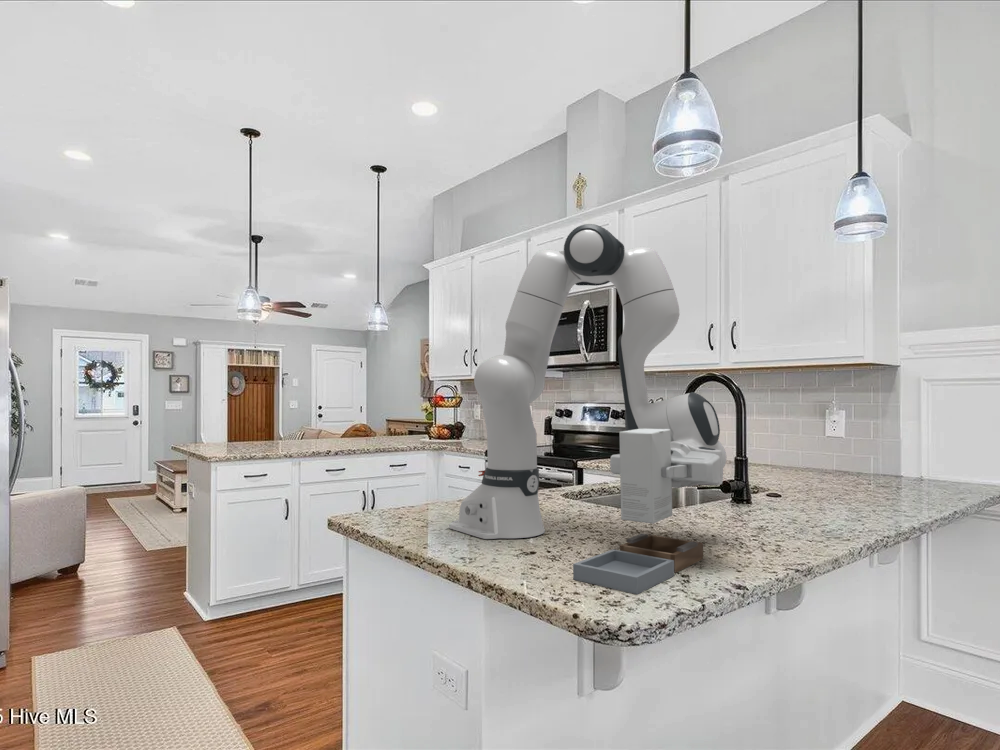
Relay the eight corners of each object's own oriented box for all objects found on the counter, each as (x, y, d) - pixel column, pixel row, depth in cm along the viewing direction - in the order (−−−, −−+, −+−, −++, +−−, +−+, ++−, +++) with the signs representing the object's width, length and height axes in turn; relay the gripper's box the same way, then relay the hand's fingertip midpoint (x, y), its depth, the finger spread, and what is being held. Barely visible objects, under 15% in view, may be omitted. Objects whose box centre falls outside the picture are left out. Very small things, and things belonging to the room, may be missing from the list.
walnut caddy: (618, 561, 108) (618, 541, 108) (649, 549, 117) (649, 531, 117) (676, 573, 101) (675, 551, 101) (704, 559, 110) (703, 539, 110)
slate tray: (573, 579, 98) (573, 563, 98) (613, 563, 107) (613, 549, 108) (637, 594, 90) (636, 577, 90) (674, 575, 100) (674, 560, 100)
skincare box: (641, 512, 111) (639, 428, 112) (675, 516, 107) (673, 428, 107) (619, 520, 104) (616, 430, 105) (654, 524, 100) (651, 431, 101)
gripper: (629, 444, 123) (593, 449, 112) (730, 450, 109) (699, 456, 99) (630, 475, 122) (593, 483, 112) (731, 485, 109) (699, 495, 98)
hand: (644, 470), depth 105 cm, fingers closed on skincare box, 6 cm apart
